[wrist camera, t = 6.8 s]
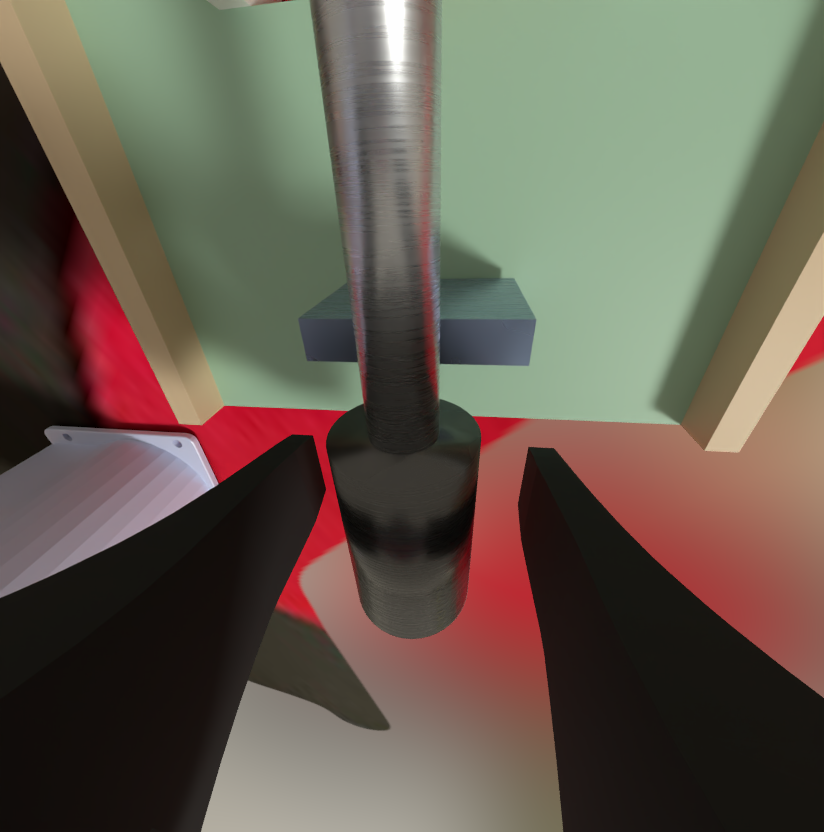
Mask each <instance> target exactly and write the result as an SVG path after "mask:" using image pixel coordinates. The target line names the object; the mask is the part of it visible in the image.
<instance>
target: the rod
mask: <svg viewBox="0 0 824 832" xmlns="http://www.w3.org/2000/svg"><path fill="white" fill-rule="evenodd" d="M309 2H310V10H311V17H312V25H313V32H314V39H315V47H316V54H317V62H318V69H319V77H320V84H321V91H322V99H323V106H324V114H325V121H326V129H327V136H328V143H329V151H330V158H331V166H332V173H333V181H334V188H335V195H336V203H337V210H338V218H339V225H340V233H341V240H342V247H343V255H344V262H345V270H346V277H347V283H346V284H344V285H343V286H341V287H340V288H339V289H337V290H336V291H335V292H333V293H332V294H331V295H329V296H328V297H326V298H325V299H324V300H322V301H321V302H320V303H318V304H317V305H316V306H314V307H313V308H311V309H310V310H309V311H307V312H306V313H305V314H303V315H302V316H301V317H299V318H298V322H299V327H300V331H301V336H302V340H303V345H304V349H305V354H306V358H307V361H323V362H358V366H359V374H360V381H361V389H362V396H363V404H361V405H359V406H357V407H355V408H353V409H351V410H349V411H348V412H346V413H345V414H344V415H342V416H341V417H340V418H339V419H338V420H337V421H336V422H335V423H334V425H333V426H332V427H331V429H330V431H329V433H328V436H327V440H326V448H327V453H328V458H329V463H330V467H331V472H332V476H333V481H334V485H335V490H336V494H337V499H338V503H339V508H340V512H341V517H342V521H343V526H344V530H345V535H346V539H347V543H348V548H349V553H350V557H351V562H352V566H353V570H354V575H355V579H356V584H357V588H358V593H359V598H360V602H361V604H362V607H363V609H364V611H365V613H366V615H367V616H368V617H369V619H370V620H371V621H372V622H373V623H374V624H375V625H376V626H377V627H379V628H380V629H381V630H383V631H385V632H386V633H388V634H390V635H393V636H396V637H400V638H406V639H407V638H408V639H416V638H424V637H428V636H431V635H434V634H436V633H438V632H440V631H442V630H444V629H445V628H446V627H447V626H449V625H450V624H451V623H452V622H453V621H454V620H455V619H456V618H457V616H458V615H459V613H460V612H461V610H462V608H463V606H464V603H465V601H466V596H467V592H468V580H469V569H470V558H471V547H472V536H473V525H474V513H475V502H476V491H477V479H478V468H479V458H480V446H481V432H480V428H479V426H478V424H477V422H476V421H475V419H474V418H473V417H472V416H471V415H470V414H469V413H468V412H467V411H465V410H464V409H462V408H461V407H459V406H457V405H455V404H453V403H451V402H448V401H446V400H442V399H439V391H440V364H460V365H506V366H529V363H530V357H531V351H532V344H533V338H534V332H535V326H536V320H537V319H536V318H535V316H534V314H533V312H532V310H531V308H530V307H529V305H528V303H527V301H526V299H525V297H524V295H523V294H522V292H521V290H520V288H519V286H518V284H517V283H516V281H515V279H514V278H466V279H440V228H441V66H442V0H309Z"/></svg>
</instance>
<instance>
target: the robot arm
mask: <svg viewBox="0 0 824 832" xmlns="http://www.w3.org/2000/svg"><path fill="white" fill-rule="evenodd" d="M44 432H45V435H46V437H47V438H48V439H49V441H50V442H51V443H52V444H51V445H50V446H48V447H46V448H45V449H43V450H41V451H40V452H38V453H36V454H35V455H33V456H31V457H30V458H28V459H26V460H25V461H23V462H21V463H20V464H18V465H16V466H15V467H13V468H12V469H10V470H8V471H7V472H5V473H3V474H2V475H0V832H201V828H202V825H203V822H204V818H205V815H206V811H207V807H208V804H209V801H210V798H211V794H212V791H213V787H214V784H215V780H216V777H217V774H218V770H219V767H220V763H221V760H222V757H223V754H224V751H225V747H226V744H227V741H228V738H229V734H230V732H231V729H232V726H233V722H234V719H235V716H236V713H237V710H238V707H239V704H240V701H241V698H242V695H243V692H244V689H245V686H246V684H247V681H248V678H249V675H250V672H251V669H252V666H253V663H254V661H255V658H256V655H257V652H258V650H259V647H260V644H261V642H262V639H263V636H264V634H265V631H266V628H267V626H268V623H269V620H270V618H271V615H272V613H273V611H274V608H275V606H276V604H277V601H278V599H279V597H280V595H281V593H282V591H283V589H284V587H285V585H286V583H287V581H288V578H289V576H290V574H291V572H292V570H293V568H294V566H295V564H296V562H297V560H298V558H299V556H300V554H301V552H302V549H303V547H304V545H305V543H306V541H307V539H308V537H309V535H310V533H311V530H312V528H313V526H314V524H315V522H316V519H317V516H318V513H319V510H320V507H321V504H322V501H323V497H324V494H325V491H326V487H325V483H324V479H323V475H322V471H321V467H320V463H319V459H318V454H317V450H316V446H315V442H314V438H313V436H311V435H291V436H289V437H287V438H286V439H284V440H283V441H281V442H280V443H278V444H277V445H275V446H274V447H272V448H271V449H269V450H268V451H266V452H265V453H263V454H262V455H261V456H259V457H258V458H256V459H255V460H253V461H252V462H250V463H249V464H248V465H246V466H245V467H243V468H242V469H240V470H239V471H237V472H236V473H234V474H233V475H231V476H230V477H229V478H227V479H226V480H224V481H223V482H221V483H220V484H218V482H217V479H216V477H215V475H214V473H213V471H212V469H211V467H210V465H209V463H208V460H207V458H206V456H205V454H204V452H203V450H202V448H201V446H200V444H199V441H198V440H197V438H196V437H195V436H194V435H192V434H188V433H176V432H158V431H140V430H122V429H104V428H85V427H67V426H50V427H49V428H47V429H45V431H44ZM518 510H519V522H520V532H521V541H522V546H523V551H524V556H525V560H526V565H527V571H528V575H529V580H530V584H531V589H532V594H533V599H534V603H535V608H536V613H537V618H538V622H539V627H540V632H541V638H542V643H543V649H544V655H545V664H546V672H547V679H548V687H549V696H550V705H551V714H552V723H553V732H554V741H555V750H556V759H557V770H558V780H559V790H560V801H561V811H562V821H563V832H824V698H823V697H822V696H820V695H819V694H817V693H816V692H815V691H814V690H812V689H811V688H810V687H808V686H807V685H806V684H804V683H803V682H802V681H801V680H799V679H798V678H797V677H795V676H794V675H793V674H791V673H790V672H789V671H787V670H786V669H785V668H783V667H782V666H781V665H780V664H778V663H777V662H776V661H774V660H773V659H772V658H771V657H769V656H768V655H767V654H766V653H764V652H763V651H762V650H760V649H759V648H758V647H757V646H756V645H754V644H753V643H752V642H750V641H749V640H748V639H747V638H746V637H744V636H743V635H742V634H740V633H739V632H738V631H737V630H736V629H734V628H733V627H732V626H731V625H729V624H728V623H727V622H726V621H725V620H723V619H722V618H721V617H720V616H719V615H717V614H716V613H715V612H714V611H713V610H711V609H710V608H709V607H708V606H707V605H705V604H704V603H703V602H702V601H701V600H700V599H699V598H697V597H696V596H695V595H694V594H693V593H692V592H691V591H689V590H688V589H687V588H686V587H685V586H684V585H683V584H682V583H680V582H679V581H678V580H677V579H676V578H675V577H674V576H673V575H671V574H670V573H669V572H668V571H667V570H666V569H665V568H664V567H663V566H662V565H661V564H659V563H658V562H657V561H656V560H655V559H654V558H653V557H652V556H651V555H650V554H649V553H648V552H647V551H646V550H645V549H644V548H642V546H641V545H640V544H639V543H638V542H637V541H636V540H635V539H634V538H633V537H632V536H631V535H630V534H629V533H628V532H627V531H626V530H625V529H624V528H623V527H622V526H621V525H620V524H619V523H618V522H617V521H616V520H615V518H614V517H613V516H612V515H611V514H610V513H609V512H608V511H607V510H606V508H604V506H603V505H602V504H601V503H600V502H599V501H598V500H597V499H596V497H595V496H594V495H593V494H592V493H591V492H590V491H589V489H588V488H587V487H586V486H585V485H584V484H583V482H582V481H581V480H580V479H579V478H578V477H577V475H576V474H575V473H574V472H573V471H572V469H571V468H570V467H569V466H568V464H567V463H566V462H565V461H564V460H563V459H562V457H561V456H560V455H559V454H558V453H557V451H556V450H555V449H554V448H536V447H529V448H528V453H527V458H526V464H525V469H524V475H523V480H522V485H521V490H520V496H519V502H518Z"/></svg>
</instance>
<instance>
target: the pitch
mask: <svg viewBox="0 0 824 832" xmlns="http://www.w3.org/2000/svg"><path fill="white" fill-rule="evenodd" d="M0 62H1V64H2V66H3V68H4V70H5V72H6V74H7V76H8V79H9V81H10V83H11V85H12V87H13V89H14V91H15V93H16V95H17V97H18V99H19V101H20V103H21V105H22V107H23V109H24V111H25V113H26V115H27V117H28V119H29V121H30V123H31V125H32V127H33V129H34V131H35V133H36V135H37V137H38V139H39V141H40V143H41V145H42V147H43V149H44V151H45V153H46V155H47V157H48V159H49V161H50V163H51V165H52V167H53V169H54V171H55V173H56V176H57V178H58V180H59V182H60V184H61V186H62V188H63V190H64V192H65V194H66V196H67V198H68V200H69V202H70V204H71V206H72V208H73V210H74V212H75V214H76V216H77V218H78V220H79V222H80V224H81V226H82V228H83V230H84V232H85V234H86V236H87V238H88V240H89V242H90V244H91V246H92V248H93V250H94V252H95V254H96V256H97V258H98V260H99V262H100V264H101V266H102V268H103V270H104V273H105V275H106V277H107V279H108V281H109V283H110V285H111V287H112V289H113V291H114V293H115V295H116V297H117V299H118V301H119V303H120V305H121V307H122V309H123V311H124V313H125V315H126V317H127V319H128V321H129V323H130V325H131V327H132V329H133V331H134V333H135V335H136V337H137V339H138V341H139V343H140V345H141V347H142V349H143V351H144V353H145V355H146V357H147V359H148V361H149V363H150V365H151V367H152V370H153V372H154V374H155V376H156V378H157V380H158V382H159V384H160V386H161V388H162V390H163V392H164V394H165V396H166V398H167V400H168V402H169V404H170V406H171V408H172V410H173V412H174V414H175V416H176V418H177V420H178V422H179V424H191V425H203V424H204V423H205V422H206V421H207V420H208V419H210V418H211V417H212V416H213V415H214V414H215V413H216V412H218V411H219V410H220V409H221V408H222V407H223V406H248V407H272V408H296V409H320V410H343V411H349V410H351V409H353V408H355V407H357V406H359V405H361V404H363V396H362V389H361V381H360V374H359V366H358V362H323V361H307V358H306V354H305V349H304V345H303V340H302V336H301V331H300V327H299V322H298V318H299V317H301V316H302V315H303V314H305V313H306V312H307V311H309V310H310V309H311V308H313V307H314V306H316V305H317V304H318V303H320V302H321V301H322V300H324V299H325V298H326V297H328V296H329V295H331V294H332V293H333V292H335V291H336V290H337V289H339V288H340V287H341V286H343V285H344V284H346V283H347V277H346V270H345V262H344V255H343V247H342V240H341V233H340V225H339V218H338V210H337V203H336V195H335V188H334V181H333V173H332V166H331V158H330V151H329V143H328V136H327V129H326V121H325V114H324V106H323V99H322V91H321V84H320V77H319V69H318V62H317V54H316V47H315V39H314V32H313V25H312V17H311V10H310V2H309V0H292V1H285V2H282V0H0ZM466 278H514V279H515V281H516V283H517V284H518V286H519V288H520V290H521V292H522V294H523V295H524V297H525V299H526V301H527V303H528V305H529V307H530V308H531V310H532V312H533V314H534V316H535V318H536V319H537V320H536V326H535V332H534V338H533V344H532V351H531V357H530V363H529V366H506V365H460V364H440V391H439V399H442V400H446V401H448V402H451V403H453V404H455V405H457V406H459V407H461V408H462V409H464V410H465V411H467V412H468V413H469V414H470V415H471V416H486V417H510V418H534V419H559V420H583V421H605V422H629V423H654V424H678V425H681V426H682V427H683V428H684V429H685V430H686V431H687V432H688V433H689V434H690V435H691V437H692V438H693V439H694V440H695V441H696V442H697V443H698V444H699V445H700V446H701V447H702V449H703V450H705V451H720V452H740V450H741V448H742V447H743V445H744V443H745V442H746V440H747V438H748V437H749V435H750V434H751V432H752V431H753V429H754V427H755V426H756V424H757V422H758V420H759V419H760V417H761V416H762V414H763V413H764V411H765V409H766V408H767V406H768V405H769V403H770V401H771V400H772V398H773V397H774V395H775V393H776V392H777V390H778V388H779V387H780V385H781V384H782V382H783V380H784V379H785V377H786V376H787V374H788V372H789V371H790V369H791V367H792V366H793V364H794V363H795V361H796V359H797V358H798V356H799V355H800V353H801V351H802V350H803V348H804V346H805V345H806V343H807V342H808V340H809V338H810V337H811V335H812V333H813V332H814V330H815V329H816V327H817V325H818V324H819V322H820V321H821V319H822V317H823V316H824V0H442V66H441V228H440V279H466Z"/></svg>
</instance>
